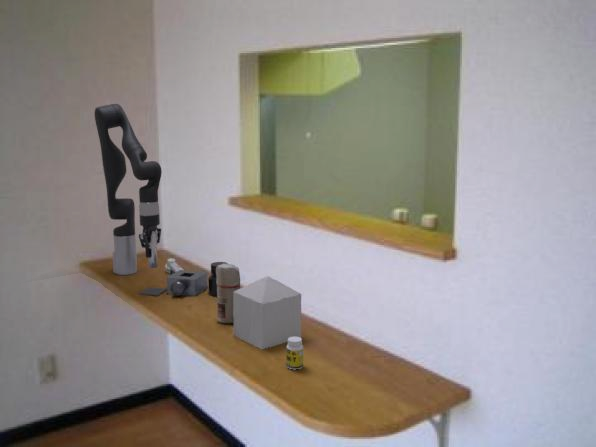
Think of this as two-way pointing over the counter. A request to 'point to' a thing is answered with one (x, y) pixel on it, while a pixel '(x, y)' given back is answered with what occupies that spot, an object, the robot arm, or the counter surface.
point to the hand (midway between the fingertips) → (151, 256)
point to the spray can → (226, 291)
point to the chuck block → (187, 282)
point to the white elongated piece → (172, 266)
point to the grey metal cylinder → (153, 254)
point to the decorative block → (266, 313)
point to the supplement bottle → (294, 353)
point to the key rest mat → (153, 291)
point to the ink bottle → (214, 278)
